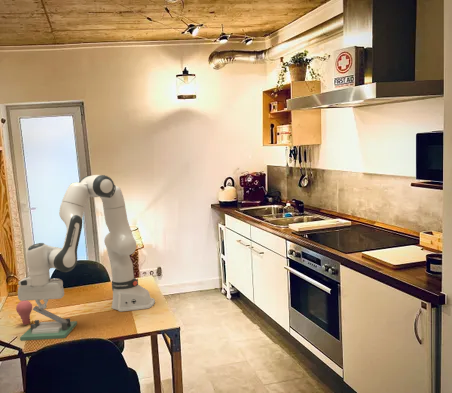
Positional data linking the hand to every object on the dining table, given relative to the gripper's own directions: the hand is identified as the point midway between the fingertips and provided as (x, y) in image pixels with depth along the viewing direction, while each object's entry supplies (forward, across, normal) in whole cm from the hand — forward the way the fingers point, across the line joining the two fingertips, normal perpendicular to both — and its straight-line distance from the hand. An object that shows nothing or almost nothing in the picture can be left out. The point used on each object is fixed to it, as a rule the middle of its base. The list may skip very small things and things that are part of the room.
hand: (42, 308), depth 210 cm
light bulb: (+12, +14, -11) cm, 21 cm away
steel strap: (+4, -3, 0) cm, 5 cm away
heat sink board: (+11, -2, 0) cm, 12 cm away
